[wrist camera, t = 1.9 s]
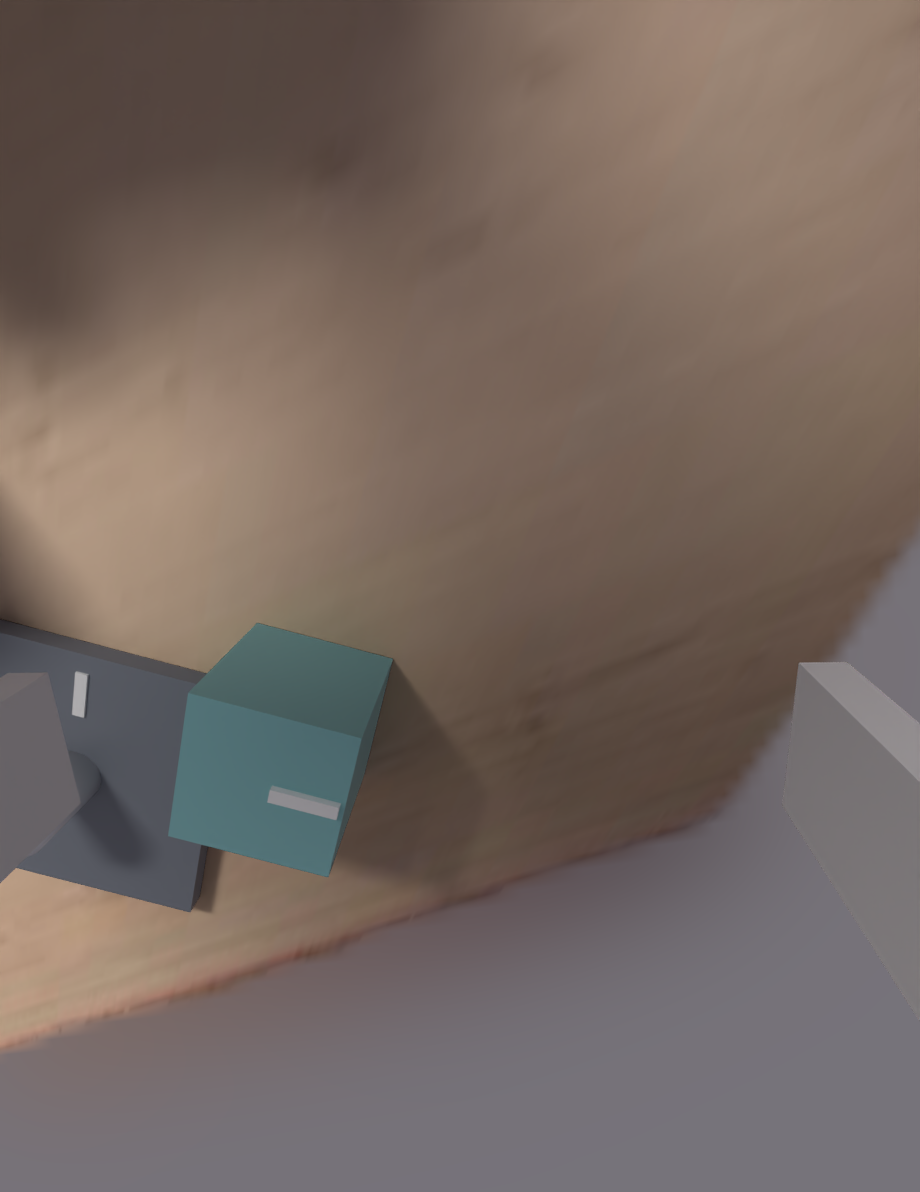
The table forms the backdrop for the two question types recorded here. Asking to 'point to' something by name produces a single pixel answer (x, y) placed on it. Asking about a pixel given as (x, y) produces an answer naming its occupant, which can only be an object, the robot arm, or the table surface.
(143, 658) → the shaft base
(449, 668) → the table surface
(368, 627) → the table surface
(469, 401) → the table surface
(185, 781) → the teal drawer cabinet
